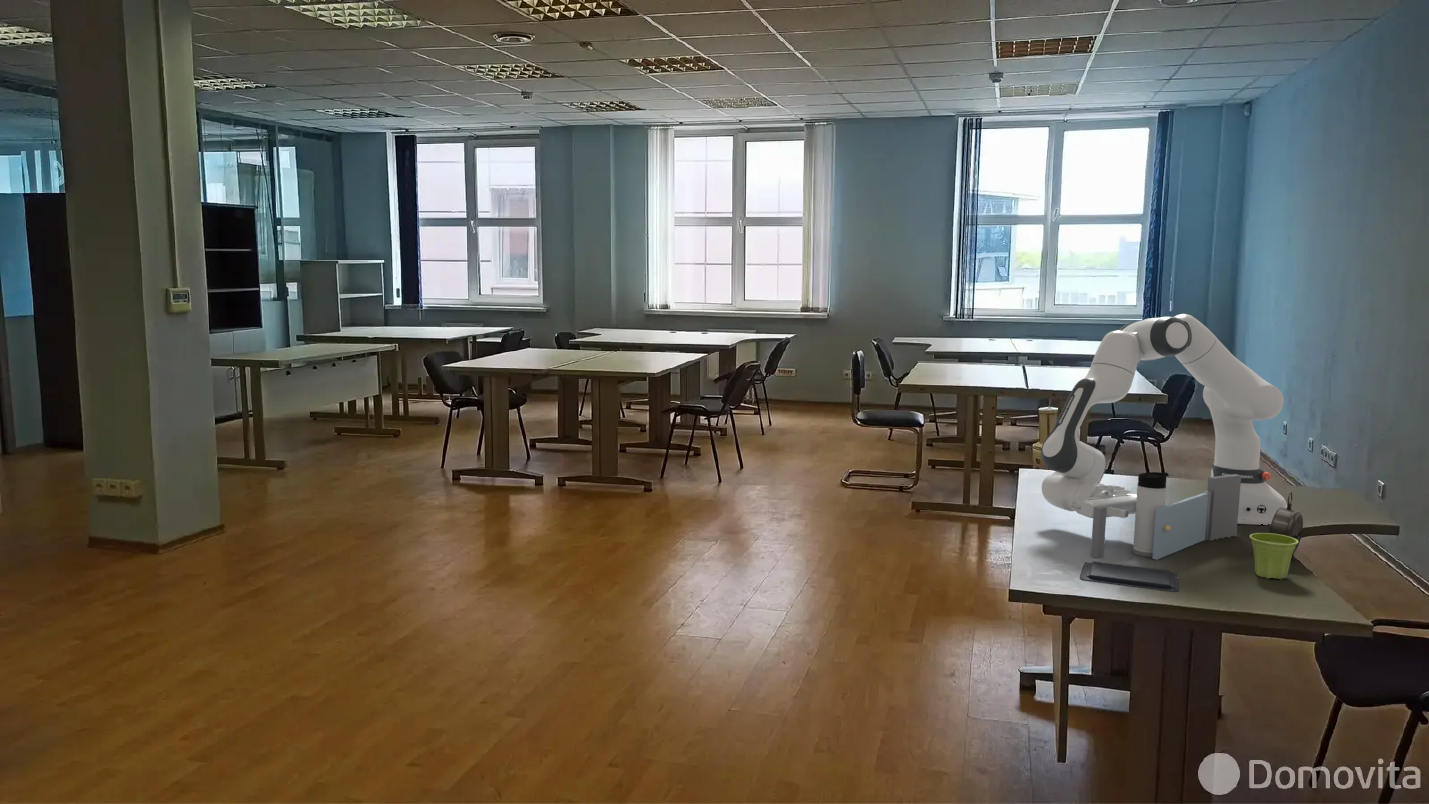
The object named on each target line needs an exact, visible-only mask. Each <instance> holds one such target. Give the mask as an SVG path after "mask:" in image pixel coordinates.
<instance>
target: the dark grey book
mask: <svg viewBox="0 0 1429 804" xmlns="http://www.w3.org/2000/svg"><path fill="white" fill-rule="evenodd" d="M1177 577H1178V578H1177ZM1079 580H1081V581H1084V582H1091V583H1099V584H1105V585H1106V584H1108V585H1114V586H1122V587H1130V588H1131V587H1132V588H1137V589H1139V588H1140V589H1146V590H1155V591H1161V592H1170V593H1177V592H1180V586H1178V585H1179V576H1178V573H1177V572H1173V571H1171V570H1167V569H1159V568H1150V567H1143V566H1136V565H1126V564H1116V563H1109V562H1103V561H1089V562H1088V561H1086V562H1084V564H1083V566H1082V569H1081V572H1080V575H1079Z"/></svg>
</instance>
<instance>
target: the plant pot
mask: <svg viewBox="0 0 1429 804" xmlns="http://www.w3.org/2000/svg"><path fill="white" fill-rule="evenodd" d="M1249 539H1251V544H1252V548H1253V558H1254V572H1255V574H1256V576H1258V577H1261V578H1263V577H1268V578H1267V579H1275V578H1284V577H1288V573H1289V570H1290V565H1291V561H1292V559H1293V557H1292V554H1293V550H1294V549H1295V546H1296V544H1298V540H1297V539H1295V538H1292V537H1289V536H1285V535H1279V534H1272V533H1269V532H1256V533H1255V532H1254V533H1251V534H1249Z"/></svg>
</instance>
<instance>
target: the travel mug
mask: <svg viewBox="0 0 1429 804" xmlns="http://www.w3.org/2000/svg"><path fill="white" fill-rule="evenodd" d="M1169 476H1170V475H1169V473H1168V472H1165V471H1163V472H1161V471H1151V472H1142V473H1139V474H1138V477H1137V481H1138V482H1137V487H1136V492H1137V500H1136V514H1134V515H1135V519H1134V531H1133V533H1134V534H1133V544H1132V545H1133V547H1132V552H1133V553H1134V555H1137V556H1138V557H1139V556H1140V557H1145V558H1153V544H1154V529H1155V515H1156V509H1157V508H1160V507H1163V506H1166V497H1167V496H1166V495H1167V494H1166V493H1167V477H1169Z"/></svg>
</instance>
